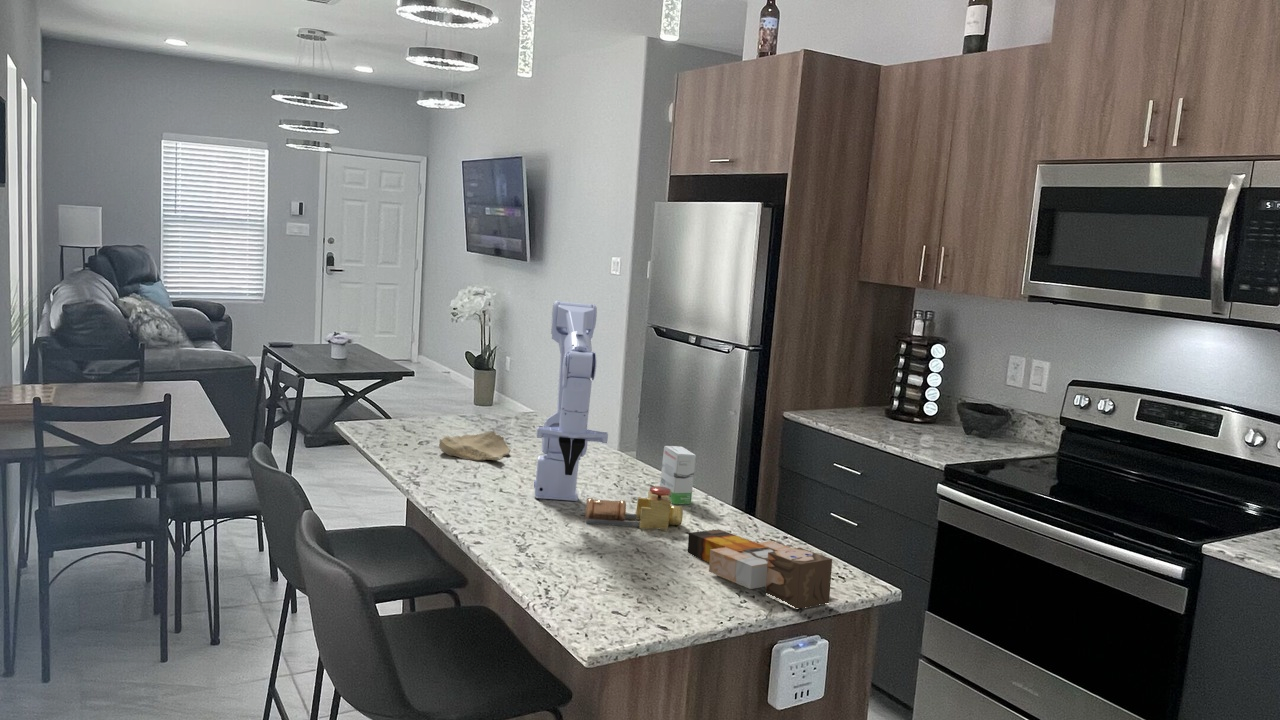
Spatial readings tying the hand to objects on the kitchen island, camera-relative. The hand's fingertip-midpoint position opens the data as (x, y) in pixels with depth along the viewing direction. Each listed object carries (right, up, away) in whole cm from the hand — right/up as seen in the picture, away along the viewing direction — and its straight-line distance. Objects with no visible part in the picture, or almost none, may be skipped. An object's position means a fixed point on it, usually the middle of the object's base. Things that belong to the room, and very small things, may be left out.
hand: (568, 473), depth 193 cm
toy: (+36, -17, -21) cm, 45 cm away
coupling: (+7, -10, +2) cm, 13 cm away
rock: (-26, -1, +45) cm, 52 cm away
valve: (+18, -11, +4) cm, 22 cm away
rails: (+9, -10, +2) cm, 14 cm away
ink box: (+23, -9, +24) cm, 35 cm away
